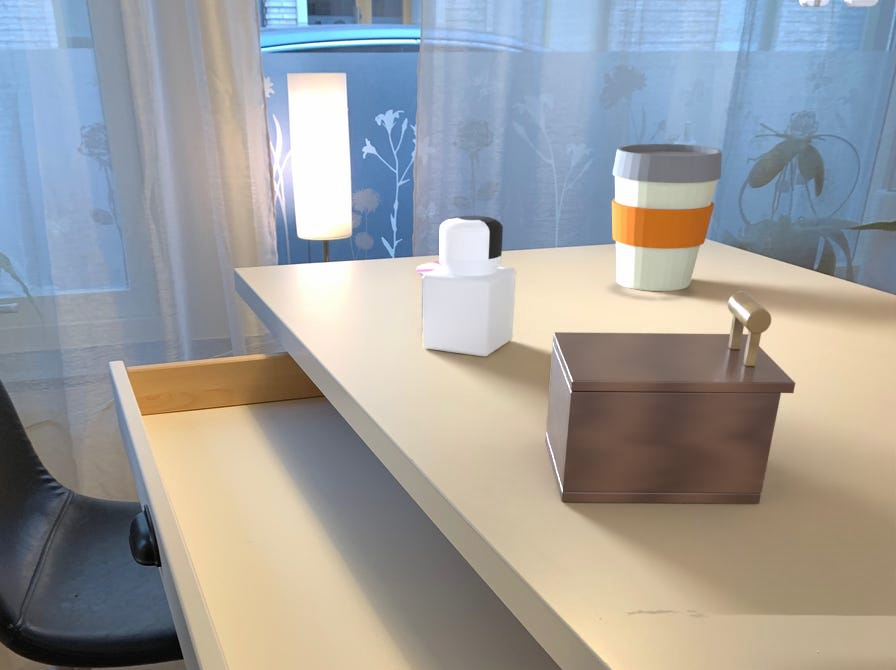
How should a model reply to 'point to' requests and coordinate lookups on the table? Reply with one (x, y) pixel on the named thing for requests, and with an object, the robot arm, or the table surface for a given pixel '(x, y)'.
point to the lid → (676, 358)
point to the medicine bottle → (468, 290)
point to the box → (658, 444)
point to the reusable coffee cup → (661, 212)
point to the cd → (428, 267)
